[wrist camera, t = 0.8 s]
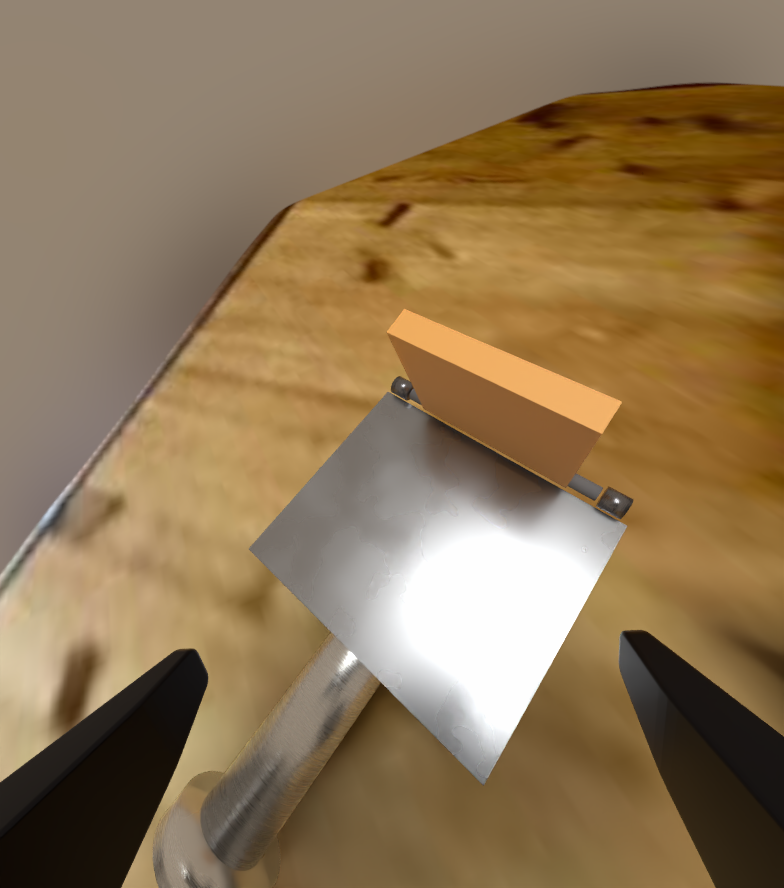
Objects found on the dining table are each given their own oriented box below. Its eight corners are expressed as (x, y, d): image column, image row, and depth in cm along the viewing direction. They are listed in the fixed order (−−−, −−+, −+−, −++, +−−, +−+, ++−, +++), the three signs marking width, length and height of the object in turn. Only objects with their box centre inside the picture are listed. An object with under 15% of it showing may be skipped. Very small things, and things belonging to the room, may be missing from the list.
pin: (277, 886, 15) (204, 980, 11) (211, 783, 17) (128, 830, 13) (482, 575, 19) (486, 557, 15) (409, 522, 21) (396, 493, 17)
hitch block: (477, 738, 17) (484, 795, 11) (302, 571, 22) (238, 544, 16) (590, 544, 20) (646, 501, 13) (412, 437, 25) (395, 370, 18)
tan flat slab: (590, 506, 15) (649, 456, 9) (408, 404, 18) (362, 320, 12) (603, 485, 15) (669, 422, 9) (420, 388, 18) (379, 298, 13)
